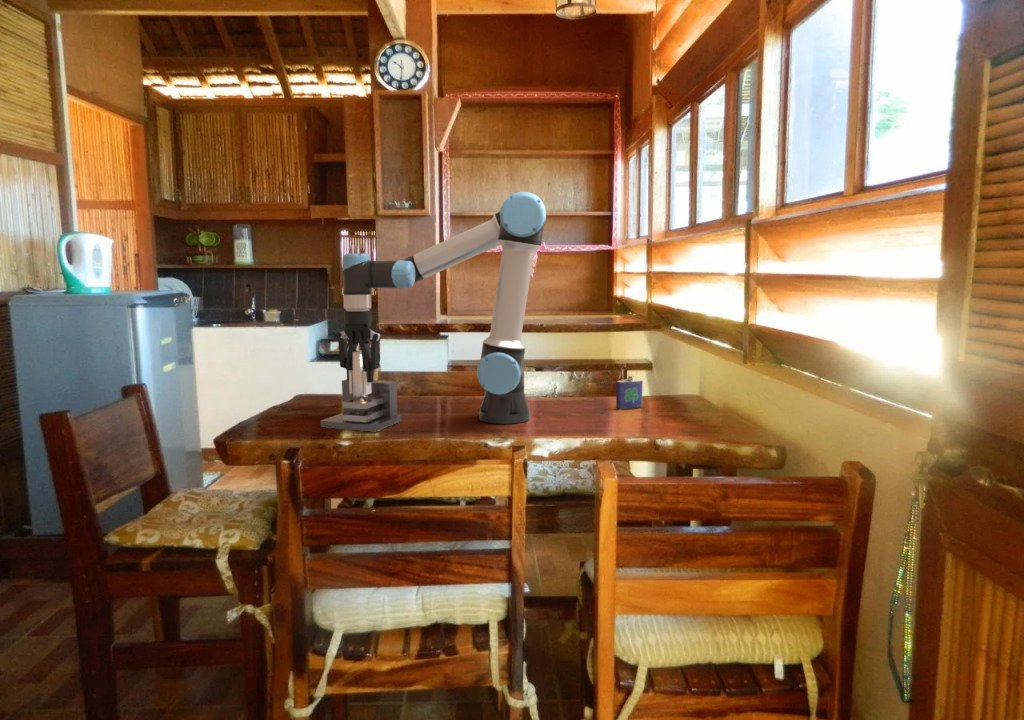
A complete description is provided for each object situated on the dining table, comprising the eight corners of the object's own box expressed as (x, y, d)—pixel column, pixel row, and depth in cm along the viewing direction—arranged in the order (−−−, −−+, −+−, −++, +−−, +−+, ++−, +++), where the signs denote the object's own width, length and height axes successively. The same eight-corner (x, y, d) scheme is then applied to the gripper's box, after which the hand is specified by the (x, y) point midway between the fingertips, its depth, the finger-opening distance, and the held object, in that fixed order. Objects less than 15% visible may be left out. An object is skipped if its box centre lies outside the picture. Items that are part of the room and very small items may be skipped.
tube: (371, 413, 194) (369, 350, 191) (363, 416, 190) (361, 352, 187) (359, 412, 195) (356, 350, 193) (350, 415, 191) (348, 351, 189)
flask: (639, 406, 220) (640, 373, 219) (644, 408, 217) (645, 374, 216) (614, 408, 217) (615, 375, 215) (619, 410, 214) (619, 376, 212)
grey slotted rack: (401, 421, 200) (400, 371, 198) (375, 432, 187) (374, 378, 185) (349, 417, 206) (347, 368, 204) (320, 427, 193) (318, 375, 191)
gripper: (391, 309, 189) (393, 392, 192) (339, 308, 195) (342, 389, 198) (377, 311, 182) (379, 397, 185) (323, 310, 188) (327, 393, 191)
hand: (360, 393), depth 192 cm, fingers closed on tube, 4 cm apart
